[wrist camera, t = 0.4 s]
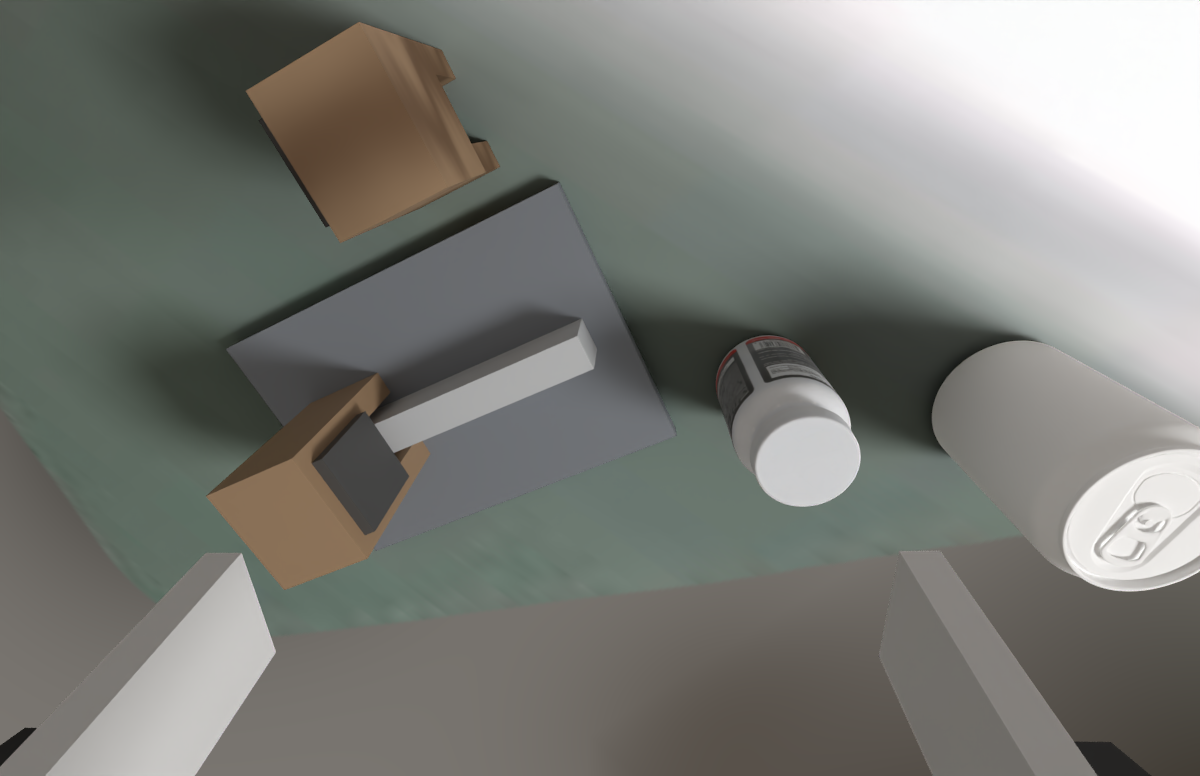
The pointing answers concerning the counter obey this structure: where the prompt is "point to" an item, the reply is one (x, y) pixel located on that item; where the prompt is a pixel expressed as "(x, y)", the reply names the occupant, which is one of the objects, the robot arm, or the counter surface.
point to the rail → (463, 332)
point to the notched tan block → (369, 128)
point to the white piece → (1077, 463)
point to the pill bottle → (787, 421)
